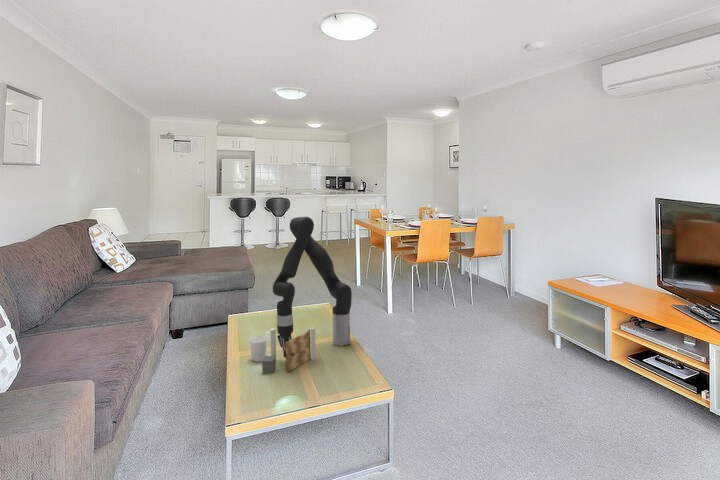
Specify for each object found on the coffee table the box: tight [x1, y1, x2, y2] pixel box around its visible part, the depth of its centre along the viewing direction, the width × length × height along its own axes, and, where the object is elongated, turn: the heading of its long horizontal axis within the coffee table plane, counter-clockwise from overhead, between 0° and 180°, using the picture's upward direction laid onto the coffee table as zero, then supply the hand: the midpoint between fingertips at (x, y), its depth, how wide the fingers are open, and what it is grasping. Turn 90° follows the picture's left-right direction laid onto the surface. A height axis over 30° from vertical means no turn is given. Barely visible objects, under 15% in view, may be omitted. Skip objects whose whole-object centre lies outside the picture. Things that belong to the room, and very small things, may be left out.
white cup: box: [249, 335, 268, 363], centre depth 181 cm, size 8×8×10 cm
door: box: [285, 329, 311, 373], centre depth 173 cm, size 16×2×15 cm, turn 146°
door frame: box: [270, 326, 317, 362], centre depth 179 cm, size 21×2×16 cm, turn 94°
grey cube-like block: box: [261, 355, 276, 375], centre depth 170 cm, size 5×5×6 cm
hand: (286, 356), depth 177 cm, fingers closed
